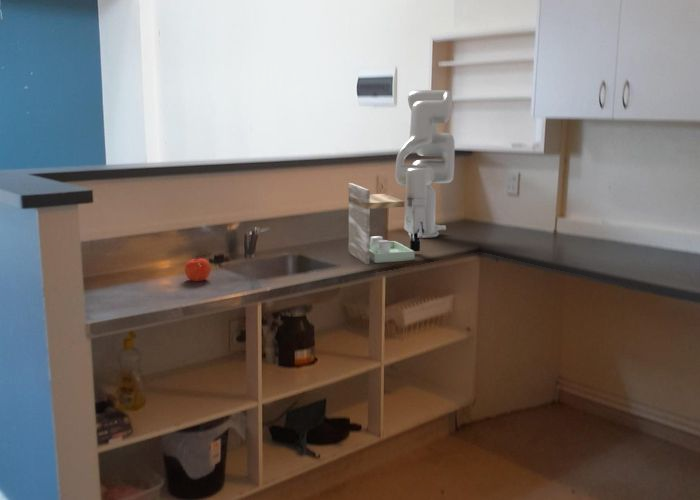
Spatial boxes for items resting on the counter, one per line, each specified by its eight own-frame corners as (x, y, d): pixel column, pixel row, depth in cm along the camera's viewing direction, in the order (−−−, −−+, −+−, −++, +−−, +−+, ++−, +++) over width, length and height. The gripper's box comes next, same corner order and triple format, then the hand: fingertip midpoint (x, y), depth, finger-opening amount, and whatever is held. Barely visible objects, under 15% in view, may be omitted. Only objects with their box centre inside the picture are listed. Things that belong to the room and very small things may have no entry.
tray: (395, 249, 271) (395, 241, 270) (414, 260, 253) (414, 251, 253) (357, 251, 267) (357, 243, 266) (374, 263, 249) (374, 254, 248)
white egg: (387, 254, 258) (387, 239, 257) (392, 257, 254) (392, 242, 253) (376, 255, 257) (376, 240, 256) (380, 258, 253) (380, 242, 252)
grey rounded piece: (380, 250, 266) (380, 235, 264) (384, 252, 262) (384, 237, 260) (368, 250, 264) (369, 236, 263) (372, 253, 260) (373, 238, 259)
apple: (213, 282, 224) (212, 257, 223) (187, 284, 221) (186, 259, 220) (208, 276, 232) (206, 252, 230) (183, 278, 228) (181, 254, 227)
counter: (383, 250, 270) (384, 181, 265) (403, 261, 252) (404, 188, 246) (348, 252, 266) (348, 183, 260) (366, 264, 247) (366, 190, 242)
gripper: (399, 199, 265) (398, 247, 269) (413, 205, 251) (412, 255, 255) (417, 198, 267) (416, 246, 271) (433, 204, 253) (432, 254, 257)
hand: (414, 250), depth 263 cm, fingers closed
